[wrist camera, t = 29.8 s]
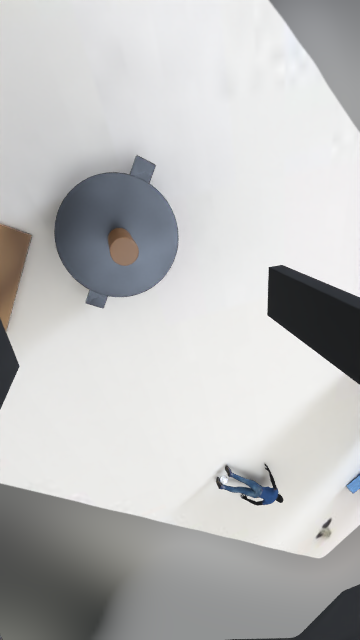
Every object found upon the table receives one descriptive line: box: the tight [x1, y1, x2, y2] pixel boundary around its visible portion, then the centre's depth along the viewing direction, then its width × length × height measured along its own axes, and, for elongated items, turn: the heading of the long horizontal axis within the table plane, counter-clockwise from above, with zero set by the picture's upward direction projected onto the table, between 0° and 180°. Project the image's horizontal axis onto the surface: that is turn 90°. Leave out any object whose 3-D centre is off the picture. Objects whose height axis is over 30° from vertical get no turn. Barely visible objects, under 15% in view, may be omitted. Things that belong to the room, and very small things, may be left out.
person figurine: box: [216, 464, 283, 505], centre depth 69 cm, size 11×4×18 cm
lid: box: [55, 172, 178, 297], centre depth 33 cm, size 15×15×9 cm
